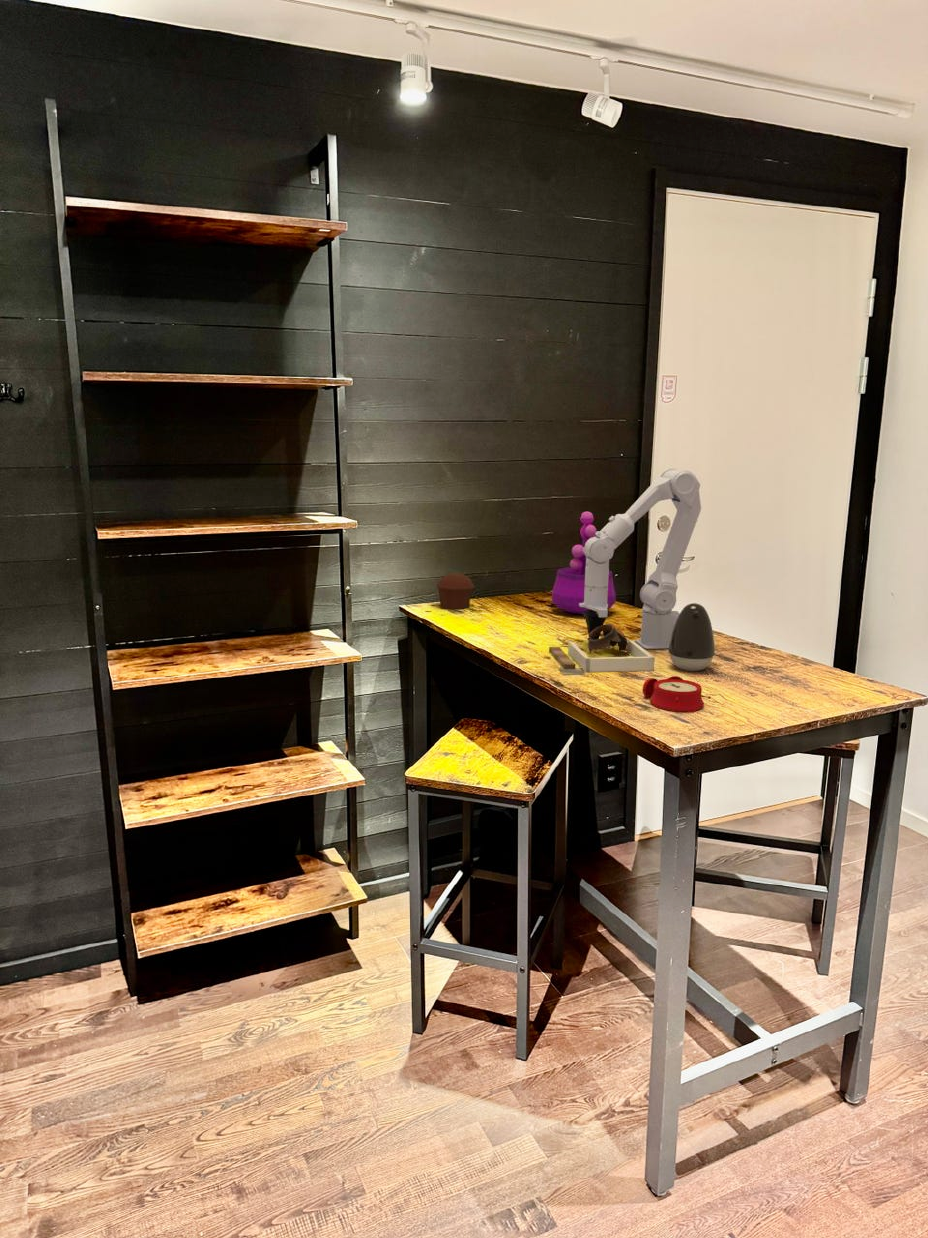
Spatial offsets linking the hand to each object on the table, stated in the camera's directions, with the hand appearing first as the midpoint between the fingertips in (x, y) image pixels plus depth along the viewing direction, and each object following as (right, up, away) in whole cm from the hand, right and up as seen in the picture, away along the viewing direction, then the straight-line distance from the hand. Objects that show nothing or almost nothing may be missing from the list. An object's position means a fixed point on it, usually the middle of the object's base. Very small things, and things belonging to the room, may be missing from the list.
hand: (593, 639), depth 213 cm
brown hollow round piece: (+3, -3, -5) cm, 7 cm away
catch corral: (+2, -5, -13) cm, 14 cm away
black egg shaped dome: (+20, -6, -18) cm, 27 cm away
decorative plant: (+3, +7, +40) cm, 41 cm away
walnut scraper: (-9, -5, -14) cm, 18 cm away
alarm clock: (+9, -12, -41) cm, 44 cm away
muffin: (-35, +9, +46) cm, 59 cm away
